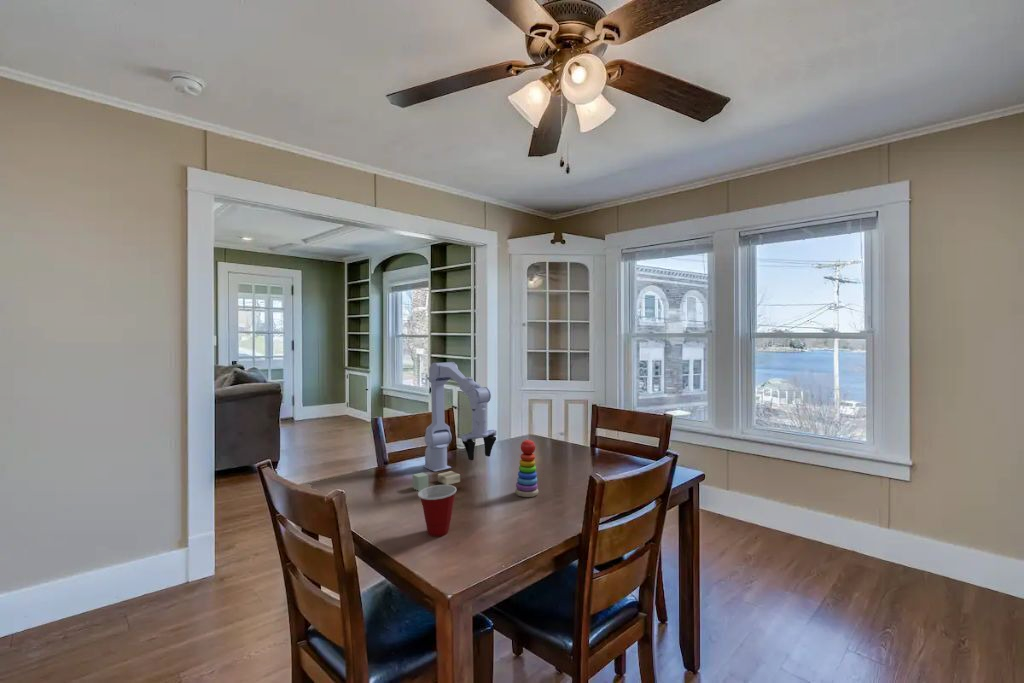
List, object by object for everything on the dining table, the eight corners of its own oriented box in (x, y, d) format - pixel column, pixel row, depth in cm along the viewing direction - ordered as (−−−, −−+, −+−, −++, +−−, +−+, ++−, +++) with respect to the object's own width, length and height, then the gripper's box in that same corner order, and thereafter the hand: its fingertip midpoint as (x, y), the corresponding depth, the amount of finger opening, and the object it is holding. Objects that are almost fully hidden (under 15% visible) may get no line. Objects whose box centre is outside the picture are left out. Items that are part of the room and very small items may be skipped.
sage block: (412, 488, 166) (412, 474, 166) (422, 486, 169) (422, 472, 169) (418, 491, 163) (418, 477, 163) (428, 488, 166) (428, 474, 166)
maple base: (437, 481, 174) (437, 474, 174) (451, 478, 178) (451, 470, 178) (446, 486, 170) (446, 477, 170) (460, 482, 174) (460, 474, 174)
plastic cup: (420, 524, 135) (420, 483, 135) (457, 523, 135) (457, 483, 135) (414, 541, 124) (414, 497, 124) (455, 540, 125) (455, 496, 124)
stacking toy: (536, 498, 156) (536, 443, 156) (513, 497, 158) (513, 442, 157) (540, 491, 164) (540, 438, 163) (517, 489, 165) (518, 437, 165)
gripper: (469, 425, 161) (469, 463, 162) (501, 419, 171) (501, 456, 171) (458, 422, 167) (458, 459, 167) (489, 417, 176) (489, 452, 176)
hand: (479, 457), depth 169 cm, fingers open, 7 cm apart
